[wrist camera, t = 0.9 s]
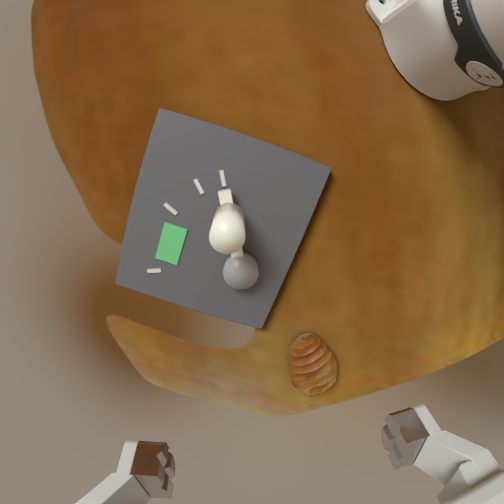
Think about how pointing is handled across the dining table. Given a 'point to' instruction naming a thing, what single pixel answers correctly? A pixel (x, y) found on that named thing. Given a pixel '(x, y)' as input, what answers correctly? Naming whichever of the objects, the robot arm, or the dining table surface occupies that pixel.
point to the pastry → (311, 364)
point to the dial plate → (202, 213)
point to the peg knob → (232, 243)
